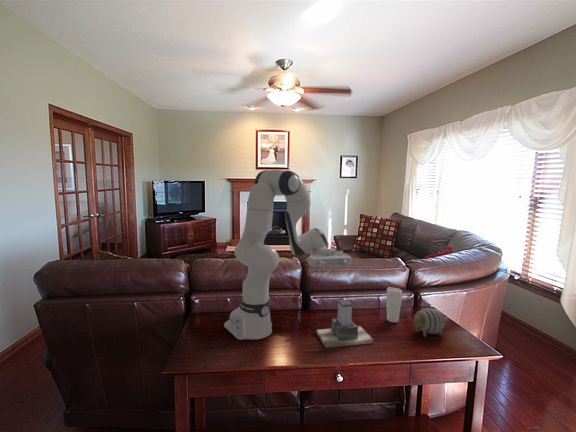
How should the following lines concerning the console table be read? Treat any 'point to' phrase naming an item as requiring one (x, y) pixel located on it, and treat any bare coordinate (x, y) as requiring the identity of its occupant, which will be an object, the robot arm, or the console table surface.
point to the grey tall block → (344, 313)
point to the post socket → (343, 335)
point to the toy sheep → (429, 321)
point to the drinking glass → (393, 304)
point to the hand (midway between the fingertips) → (335, 264)
